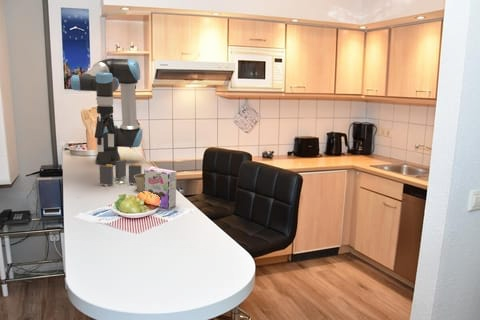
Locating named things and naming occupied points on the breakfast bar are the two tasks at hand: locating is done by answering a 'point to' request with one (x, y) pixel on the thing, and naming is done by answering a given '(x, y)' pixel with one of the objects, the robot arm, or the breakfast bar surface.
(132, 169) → the grey thin slab
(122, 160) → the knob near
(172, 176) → the candy box
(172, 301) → the breakfast bar surface
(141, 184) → the flower pot
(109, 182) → the dark grey upright block
